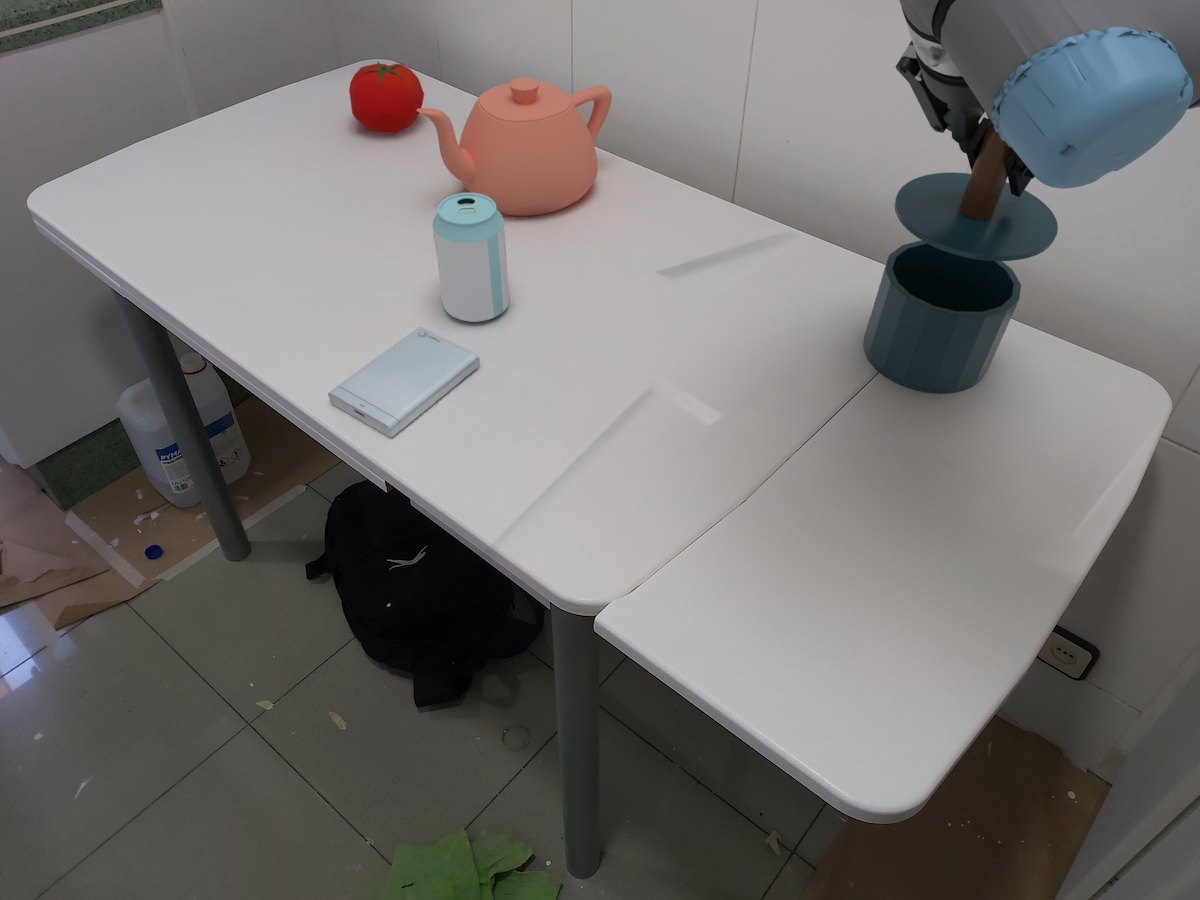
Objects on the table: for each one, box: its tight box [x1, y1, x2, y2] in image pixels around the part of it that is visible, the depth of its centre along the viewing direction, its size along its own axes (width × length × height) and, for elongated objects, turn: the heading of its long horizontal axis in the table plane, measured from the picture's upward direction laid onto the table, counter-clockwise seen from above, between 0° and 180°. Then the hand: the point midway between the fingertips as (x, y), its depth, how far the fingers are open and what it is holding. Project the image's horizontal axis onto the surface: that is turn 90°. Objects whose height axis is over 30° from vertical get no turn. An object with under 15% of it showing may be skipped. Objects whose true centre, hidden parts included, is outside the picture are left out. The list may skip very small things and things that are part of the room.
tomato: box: [348, 60, 425, 134], centre depth 120 cm, size 9×10×8 cm
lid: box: [894, 122, 1059, 262], centre depth 73 cm, size 13×13×9 cm
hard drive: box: [327, 326, 481, 438], centre depth 85 cm, size 2×8×12 cm
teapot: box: [417, 76, 613, 217], centre depth 107 cm, size 25×17×13 cm
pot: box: [862, 239, 1022, 394], centre depth 87 cm, size 12×12×10 cm
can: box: [432, 192, 510, 323], centre depth 91 cm, size 7×7×12 cm
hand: (1005, 173), depth 76 cm, fingers closed on lid, 3 cm apart
